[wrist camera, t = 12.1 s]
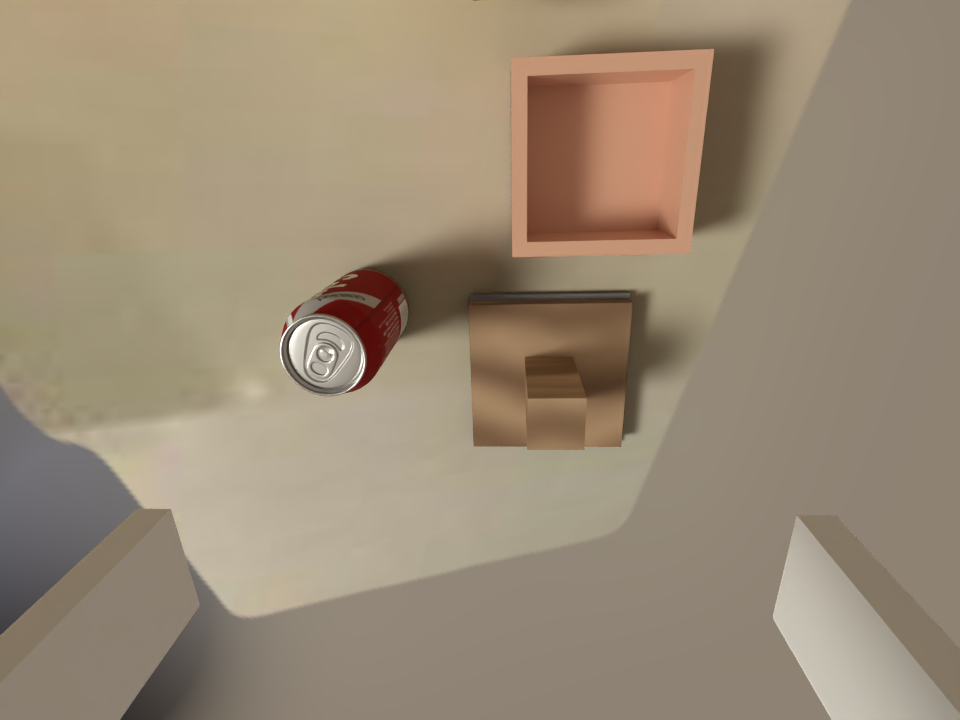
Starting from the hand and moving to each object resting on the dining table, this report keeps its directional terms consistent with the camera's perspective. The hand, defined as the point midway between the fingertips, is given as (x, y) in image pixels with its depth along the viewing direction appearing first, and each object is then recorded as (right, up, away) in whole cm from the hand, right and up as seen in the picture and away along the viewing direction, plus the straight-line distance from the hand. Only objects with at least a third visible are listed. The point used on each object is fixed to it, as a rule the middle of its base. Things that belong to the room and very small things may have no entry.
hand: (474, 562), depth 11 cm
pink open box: (+9, +19, +27) cm, 34 cm away
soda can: (-9, +9, +32) cm, 35 cm away
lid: (+6, +3, +33) cm, 33 cm away
